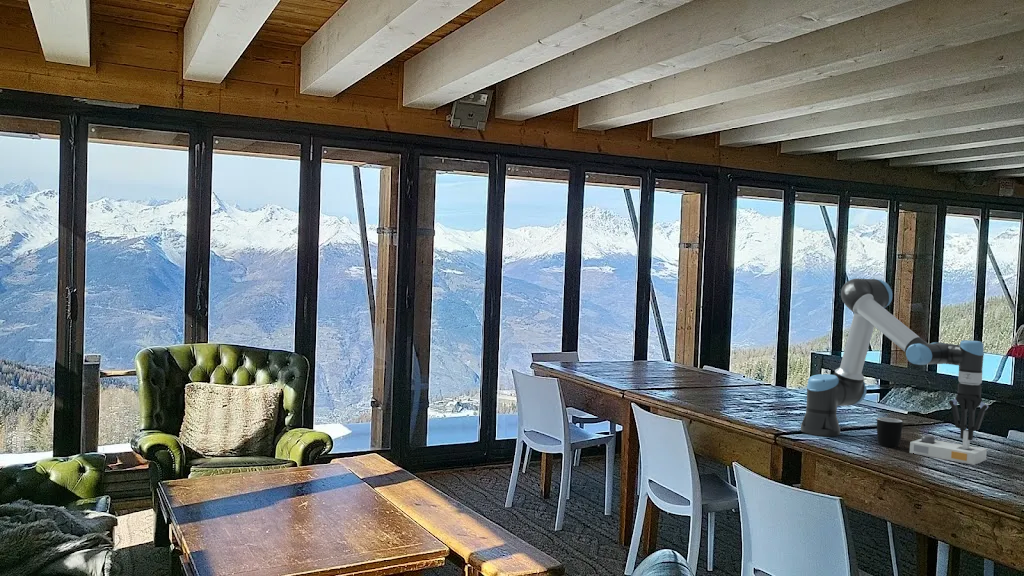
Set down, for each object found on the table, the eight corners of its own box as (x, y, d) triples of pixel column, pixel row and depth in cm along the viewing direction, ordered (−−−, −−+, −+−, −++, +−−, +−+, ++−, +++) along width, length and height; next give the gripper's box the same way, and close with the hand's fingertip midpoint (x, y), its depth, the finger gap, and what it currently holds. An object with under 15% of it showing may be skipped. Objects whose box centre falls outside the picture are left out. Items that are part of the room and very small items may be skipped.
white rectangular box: (909, 452, 313) (909, 442, 313) (922, 448, 322) (923, 437, 322) (973, 465, 297) (974, 453, 297) (986, 459, 307) (986, 448, 306)
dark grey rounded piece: (919, 444, 315) (919, 436, 315) (923, 442, 318) (924, 434, 318) (931, 446, 312) (932, 438, 312) (936, 445, 315) (936, 437, 315)
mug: (905, 449, 320) (907, 422, 319) (881, 448, 320) (883, 421, 319) (891, 442, 332) (892, 416, 331) (868, 441, 332) (869, 415, 331)
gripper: (946, 381, 307) (943, 446, 307) (986, 386, 297) (982, 453, 298) (954, 380, 312) (950, 443, 313) (993, 385, 303) (989, 450, 303)
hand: (965, 448), depth 305 cm, fingers closed
